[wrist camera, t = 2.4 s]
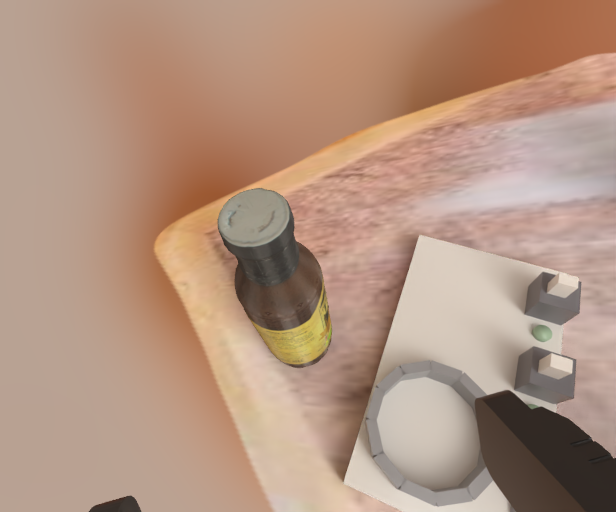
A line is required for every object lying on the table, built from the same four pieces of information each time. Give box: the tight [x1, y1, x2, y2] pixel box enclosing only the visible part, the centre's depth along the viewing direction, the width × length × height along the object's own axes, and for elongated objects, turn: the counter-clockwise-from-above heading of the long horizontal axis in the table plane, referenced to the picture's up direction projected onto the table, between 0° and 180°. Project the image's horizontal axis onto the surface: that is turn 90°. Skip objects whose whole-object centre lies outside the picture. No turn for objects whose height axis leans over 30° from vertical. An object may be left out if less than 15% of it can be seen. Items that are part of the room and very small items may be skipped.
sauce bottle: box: [218, 188, 332, 368], centre depth 28 cm, size 6×6×20 cm
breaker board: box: [343, 235, 581, 512], centre depth 30 cm, size 24×14×7 cm, turn 158°
